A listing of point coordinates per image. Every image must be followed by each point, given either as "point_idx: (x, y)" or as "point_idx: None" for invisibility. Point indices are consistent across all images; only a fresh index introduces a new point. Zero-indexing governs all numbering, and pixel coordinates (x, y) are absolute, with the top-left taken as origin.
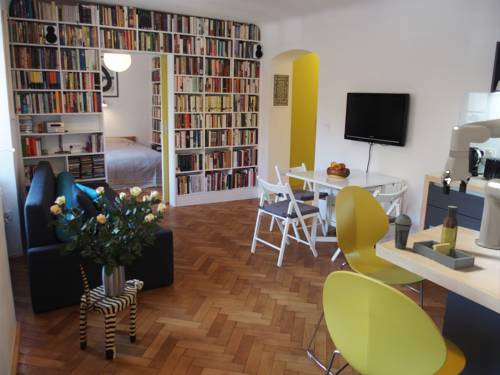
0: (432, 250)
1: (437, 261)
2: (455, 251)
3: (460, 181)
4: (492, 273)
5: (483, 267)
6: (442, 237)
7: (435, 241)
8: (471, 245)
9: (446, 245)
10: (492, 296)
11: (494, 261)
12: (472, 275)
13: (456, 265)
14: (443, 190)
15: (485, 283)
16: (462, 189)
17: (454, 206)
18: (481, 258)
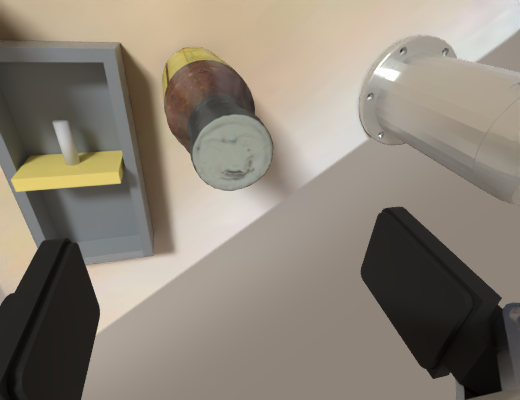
0: (6, 177)
1: None
2: (131, 192)
3: (506, 344)
4: (169, 275)
5: (180, 243)
6: (163, 81)
7: (115, 76)
8: (339, 74)
9: (92, 183)
10: None
11: (259, 214)
12: (93, 280)
13: None
14: (1, 316)
15: None
16: (388, 280)
17: (260, 152)
18: (243, 188)
